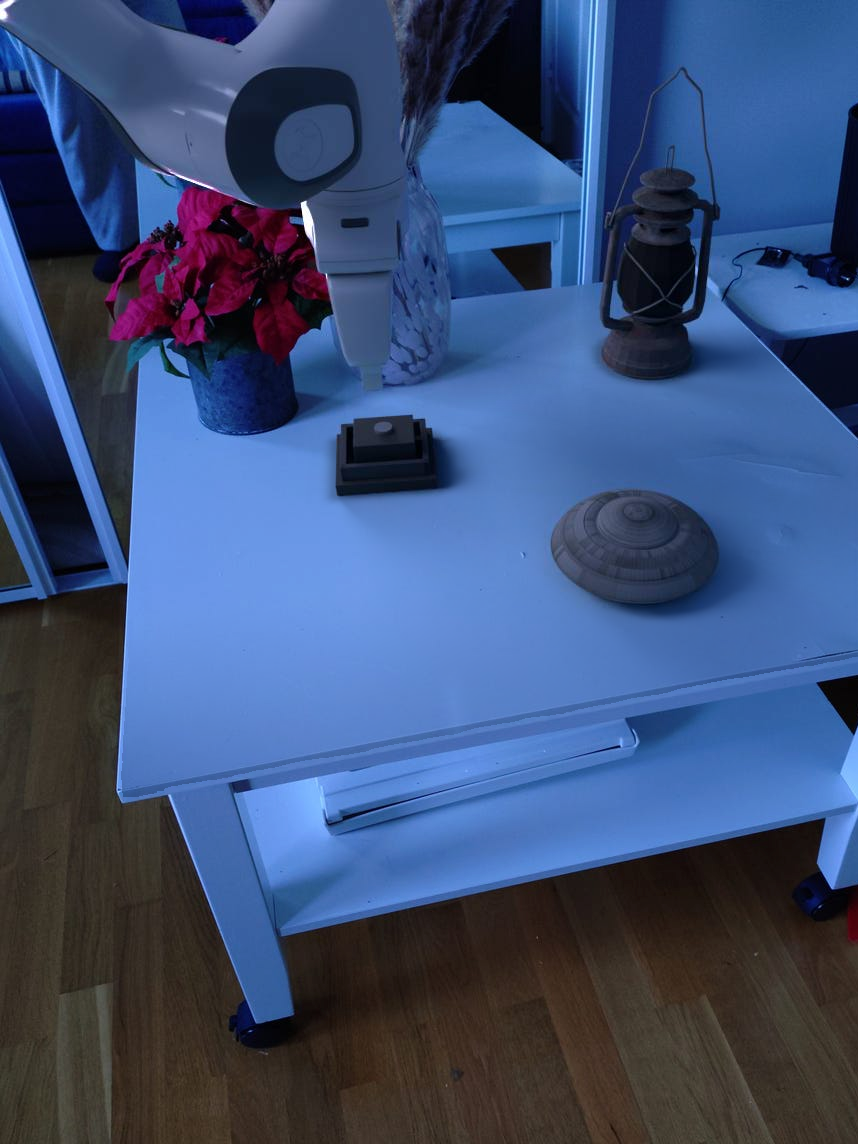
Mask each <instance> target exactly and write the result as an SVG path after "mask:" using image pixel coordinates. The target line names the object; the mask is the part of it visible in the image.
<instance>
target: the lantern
mask: <svg viewBox="0 0 858 1144" xmlns="http://www.w3.org/2000/svg"><path fill="white" fill-rule="evenodd" d="M681 71H682V72H683V75H684V78H685V79H686V80H687V81H688V83H690V84H691V85H692V86H693V87H694V89H696V91H697V92H698V94H699V103H700V115H701V128H702V137H703V138H702V139H703V150H704V154H705V157H706V161H707V165H708V169H709V178H710V184H711V194H712V201H713V202H712V203H711V202H709V201H708V200H707V199H705V198H703V199H702V198H699V195H698V192H696V191H694V190H693V189H692V188H691V187H693V186H694V185H695V183H696V181H697V180H696V178H695V176H694V175H693V174H692V173H691V172H688V171H687V170H684V169H681V168H678V167H677V168H675V167H674V160H675V150H676V146H675V145H674V144H673V145H670V146H669V147H668V148H667V150H666V158H665V166H664V167H656V168H652V169H649V170H647V171H645V172H642V174H641V175H639V181H640V183H641V184H642V185H643V186H641V187H638V188H636V189H635V191H634V192H633V193H632V196H631V197H632V201H633V202H634V203H630V204H626V205H622V206H620V207H619V205H620V203H621V199H622V196H623V194H624V191H625V189H626V186H627V183H628V181H629V178H630V175H631V172H632V170H633V168H634V166H635V164H636V162H637V160H638V158H639V156H640V154H641V151H642V149H643V146H644V142H645V137H646V132H647V127H648V123H649V119H650V113H651V110H652V104H653V99H654V97H655V95H657V94H658V93H659V92H660V91H661V90H663V89H664V88H665V87H666V86H667V85H668V84H670V83H671V82H673V80H675V79H676V78H677V77H678V75H679V73H680V72H681ZM703 93H704V92H703V90H702V89H701V87H699V85H698V84H697V83H696V82H695V81H694V80H693V79H692V77H690V76H689V74H688V70H687V69H686V68H685V66H681V67H678V68H677V70H676V72H675V73H674V75H672V76H671V77H670V78H669V79H667V80H666V81H665V82H664V83H662V85H660V86H659V87H658V88H656V89H655V90H654V91H653V92H652V93H651V95H650V98H649V101H648V106H647V111H646V115H645V121H644V124H643V130H642V135H641V139H640V143H639V148H638V150H637V152H636V154H635V156H634V158H633V159H632V162H631V165H630V167H629V169H628V171H627V174H626V176H625V179H624V181H623V184H622V187H621V189H620V193H619V195H618V198H617V201H616V203H615V207H614V209H613V211H612V212H611V211H607V212H606V215H605V219H604V229H605V230H606V231H609V238H608V244H607V253H606V259H605V265H604V266H605V267H604V273H603V281H602V288H601V295H600V301H599V320H600V322H601V325H602V326H603V328H605V329H608V330H610V332H609V334H608V336H607V337H606V338H605V339H604V342H603V346H602V348H601V350H600V351H601V352H600V357H601V360H602V362H603V364H605V366H606V367H608V368H609V369H610V370H611V371H613V372H615V373H617V374H620V375H621V376H625V377H628V378H633V379H638V380H662V379H666V378H667V379H668V378H672V377H675V376H677V375H680V374H682V373H683V372H685V371H687V370H688V369H689V367H690V366H691V365H692V362H693V353H692V348H693V347H692V345H691V342H690V341H689V332H688V328H687V327H686V326H685V324H689V323H692V322H694V321H696V320H699V318H700V317H701V315H702V313H703V311H704V307H705V303H706V297H707V288H708V276H709V266H710V256H711V246H712V236H713V226H714V222H716V221H719V220H720V219H721V207H720V206H719V204H718V202H717V197H716V189H715V180H714V173H713V172H714V171H713V165H712V161H711V158H710V154H709V150H708V145H707V143H708V142H707V131H706V120H705V107H704V95H703ZM670 150H672V152H671V159H670V160H671V161H670V167H668V165H669V156H670ZM694 210H700V211H702V212H703V213H702V214H703V215H702V216H703V218H702V227H701V228H702V229H701V236H700V246H699V255H697V254H698V252H697V250H696V246H694V244H692V242H691V236H692V231H691V228H690V227H689V226H687V225H688V224H690V223H691V222H693V219H694V217H695V211H694ZM629 216H633V219H634V220H635V222H636V221H637V223H635V224H634V226H633V227H631V235H630V237H629V239H628V241H626V242H624V243H623V246H624V247H623V250H622V251H621V253H620V257H619V263H618V267H617V274H616V285H615V286H616V293H617V295H618V297H619V298H620V301H621V302H622V303H621V307H622V309H623V310H624V312H625V313H627V314H628V315H626V316H622V317H620V318H619V319H617V318H614V317H611V306H612V298H613V297H612V296H613V290H614V283H615V282H614V281H615V273H616V266H617V257H618V250H619V243H620V235H621V228H622V223H623V220H625V219H626V218H627V217H629ZM697 256H698V262H697ZM696 263H698V264H696ZM696 265H697V266H696ZM696 267H697V273H696ZM695 280H696V281H695ZM694 286H695V287H694ZM694 288H695V289H694ZM694 290H695V291H694ZM693 293H694V298H693V302H692V307H691V308H690V309H688V310H686V311H684V312H683V310H684V305H685V304H686V303H687V302H688V300H689V299H690V297H691V296H692V295H693Z"/></svg>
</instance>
